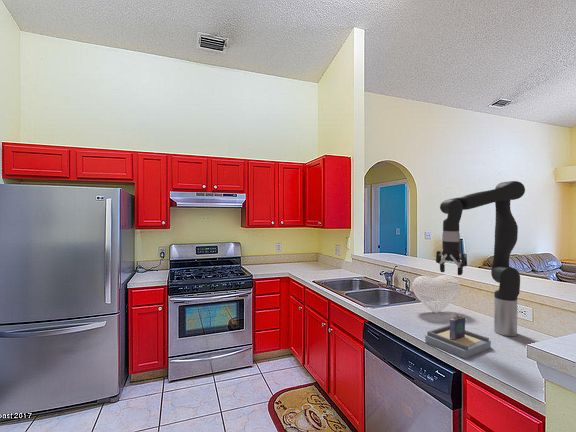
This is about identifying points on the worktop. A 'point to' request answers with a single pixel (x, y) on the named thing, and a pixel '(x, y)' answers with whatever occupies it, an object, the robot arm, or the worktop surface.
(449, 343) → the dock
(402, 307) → the worktop surface
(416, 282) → the heart
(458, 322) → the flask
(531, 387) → the worktop surface
